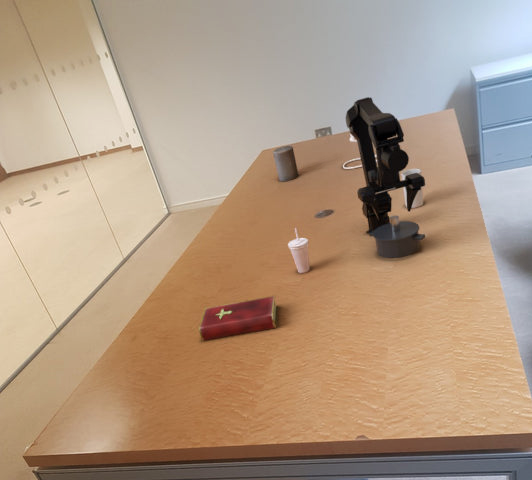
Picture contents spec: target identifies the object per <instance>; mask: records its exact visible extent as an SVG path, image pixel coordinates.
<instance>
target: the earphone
mask: <svg viewBox="0 0 532 480" xmlns="http://www.w3.org/2000/svg"><path fill="white" fill-rule="evenodd" d="M349 142H350V143H357V140H356V139H355V138H354V136H353V135H352V134H351V133H350V138H349ZM375 158H376V163H377V155H376V154H375ZM359 160H360V161H361V157H357V158H353V159H350V160H347V161H346V162H344V163H343V164H342V168H343V169H344V170H353V169H357V168H363V166H362V164H360V165H355V166H350V167H349V166H348V167H346V165H347V164H349V163H351V162H354V161H359ZM377 164H378V163H377Z"/></svg>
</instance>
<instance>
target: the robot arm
mask: <svg viewBox="0 0 532 480" xmlns="http://www.w3.org/2000/svg"><path fill="white" fill-rule="evenodd" d="M345 124H346V127H347V128H348V130H349V133H350V135H351V134H352V135H353V136H354V138H355V140H357V142H356V143H357V147H358V152H359V158H361V159H360V161H361V165H362V170H363V175H364V180H365V186H363V187H359V188H358V190H357V198H358V200H359V201H361V203H362V205H361V210H362V214H363V216H364V217H365V218H366V219H367V225H368V230H366V234H369V233H371V232H372V231H373V230H376V229H377V228H378V227H380V226H382V225H385V224H388V223H390V216H389V213H391V212H392V200H393V198H392V196H391V195H390V193H389V192H391V191H395V190H398V189H401V188H402V189H403V187H405V188H406V192H407V207H406V209H407V212H411V210H412V208H411V207H412V204H413V201H414V199H415V197H416V194H417V192H418V191H419V190H421V187H422V188H424V187H425V186H426V179H425V176H423V175H422V174H421V175H422V176H421V175H420V174H418V173H413V174H410V175H406V177H405V180H402V179H401V177H400V176H401V175H400V172H403V171H404V170H405V169H406V168H407V166H408V164H409V161H410V157H409V154H408V153H407V152H406V151H405V150H404V149H402V148H401V145H400V143H403V142H405V139H404V136H405V133H404V131H403V128H402V126H401V124H400V121H399V120H398V118H397V117H396V116H395V115H394V114H392V113H390V112H382V110H381V109H380V108H379V107H378V106H377V105H376V104H375V103H374V100H373V98H372V97H369V96H366V97H364V98H359V99H357V100H356V101H354V102H353V105H352V106H351V107H350V108H349V109H348V110H346V114H345ZM375 155H377V158H375ZM376 160H377V163H376Z"/></svg>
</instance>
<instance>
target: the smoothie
mask: <svg viewBox="0 0 532 480" xmlns="http://www.w3.org/2000/svg"><path fill="white" fill-rule="evenodd" d="M294 232H295V237H296V238H294V239H292V240H290V241H289V242H288V243H287V247H288V249H289V250H290V253H291V255H292V258H293V261H294V263H295V266H296V269H297V272H298V273H300V274H304V273H307V272H309V271H310V270H311V267H310V255H309V254H310V253H309V239H307V238H305V237H299V234H298V229H297V227H294Z"/></svg>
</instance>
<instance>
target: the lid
mask: <svg viewBox="0 0 532 480" xmlns="http://www.w3.org/2000/svg"><path fill="white" fill-rule="evenodd" d="M389 219H390V223H388V224H385V225H382V226H380V227H378V228H377V229H376V230H375V231H374V232H373V237H372V238H374V240H375V239H377V240H380V241H398V240H402V239H406V238H409V237H411V236H413V235H415V234H416V233H417V232H418V233H419V231H420V224H419V223H417V222H414V221H410V220H400V216H399V215H395V214H394V215H392V216H389Z"/></svg>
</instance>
